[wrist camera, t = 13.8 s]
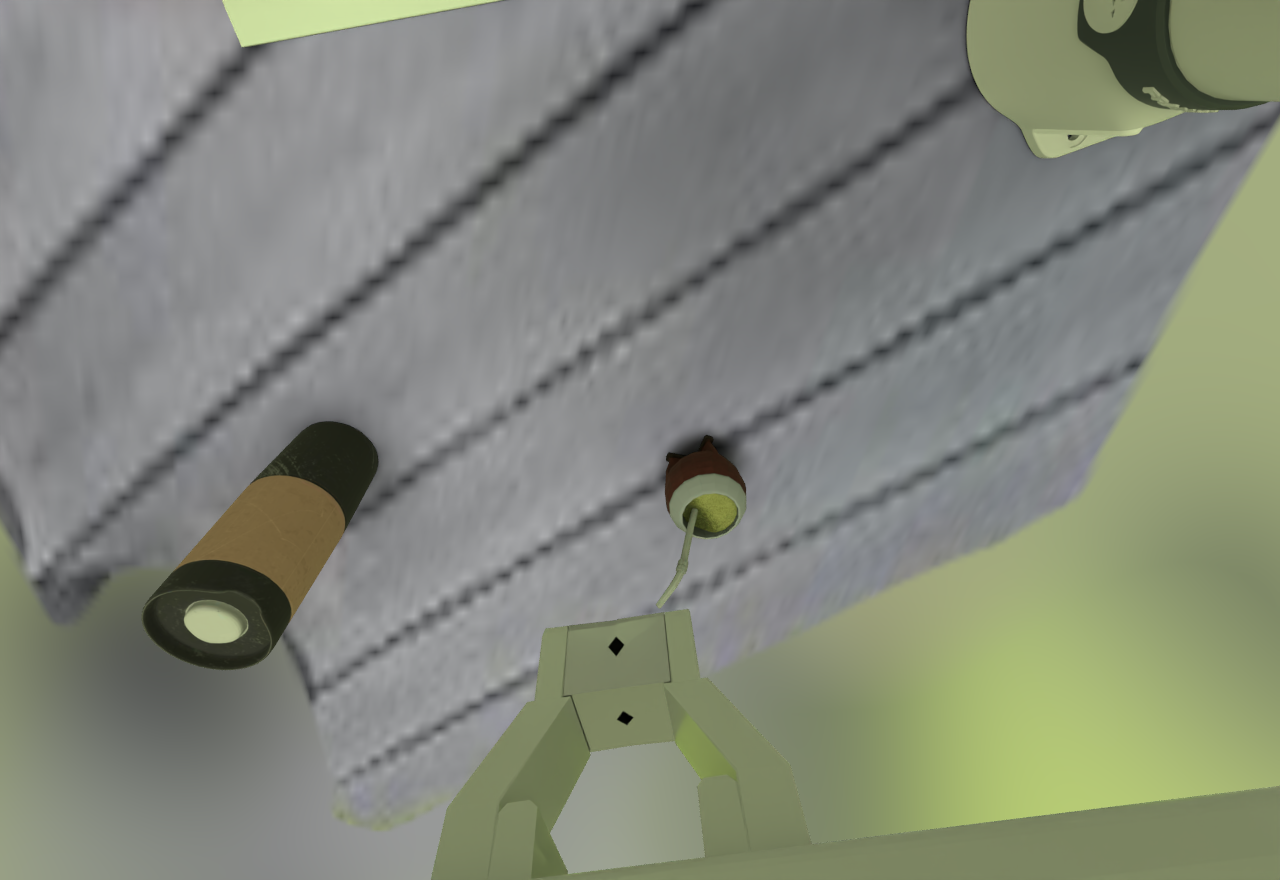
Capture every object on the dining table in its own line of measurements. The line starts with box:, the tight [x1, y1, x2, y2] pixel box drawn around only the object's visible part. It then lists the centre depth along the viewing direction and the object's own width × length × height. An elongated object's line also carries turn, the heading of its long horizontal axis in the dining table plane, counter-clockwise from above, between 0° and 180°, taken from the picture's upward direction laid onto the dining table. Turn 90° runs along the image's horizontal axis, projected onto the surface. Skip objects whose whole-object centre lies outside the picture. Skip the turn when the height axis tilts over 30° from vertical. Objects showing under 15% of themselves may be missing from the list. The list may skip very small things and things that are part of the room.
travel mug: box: [142, 422, 378, 670], centre depth 44 cm, size 8×8×20 cm
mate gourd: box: [656, 435, 746, 608], centre depth 48 cm, size 8×8×15 cm
